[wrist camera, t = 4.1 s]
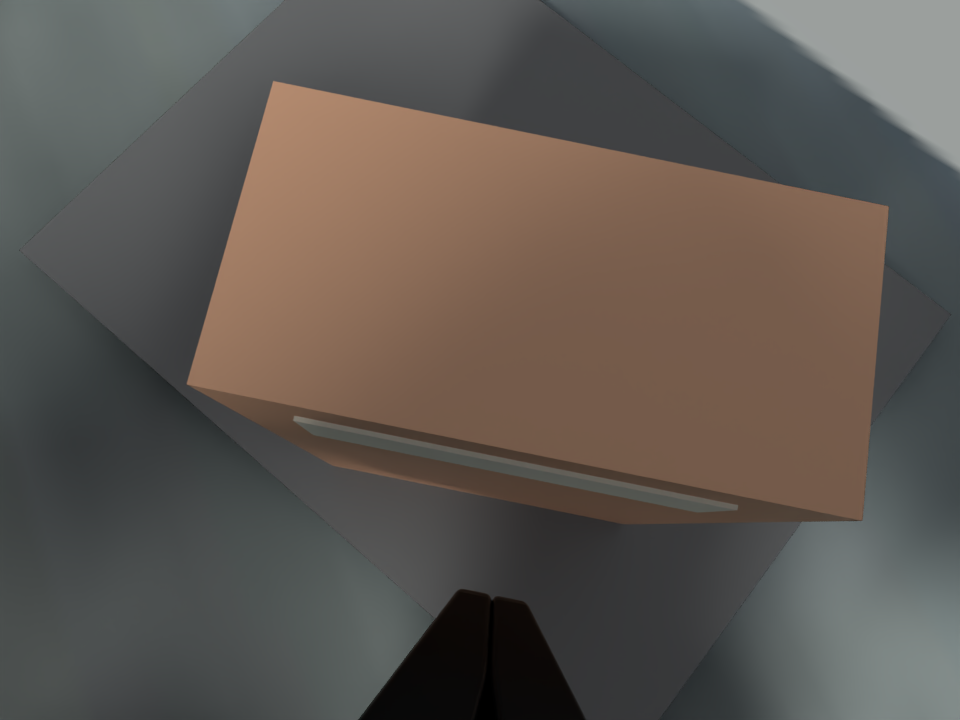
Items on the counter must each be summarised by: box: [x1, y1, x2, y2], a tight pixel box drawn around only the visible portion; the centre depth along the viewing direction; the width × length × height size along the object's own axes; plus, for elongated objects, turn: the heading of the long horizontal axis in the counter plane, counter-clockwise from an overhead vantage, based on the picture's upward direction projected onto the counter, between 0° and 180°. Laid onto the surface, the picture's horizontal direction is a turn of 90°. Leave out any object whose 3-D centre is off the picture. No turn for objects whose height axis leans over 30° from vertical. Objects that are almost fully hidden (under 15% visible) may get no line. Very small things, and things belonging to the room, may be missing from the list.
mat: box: [19, 0, 951, 720], centre depth 17 cm, size 16×12×1 cm
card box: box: [187, 81, 889, 524], centre depth 11 cm, size 3×6×9 cm, turn 79°
